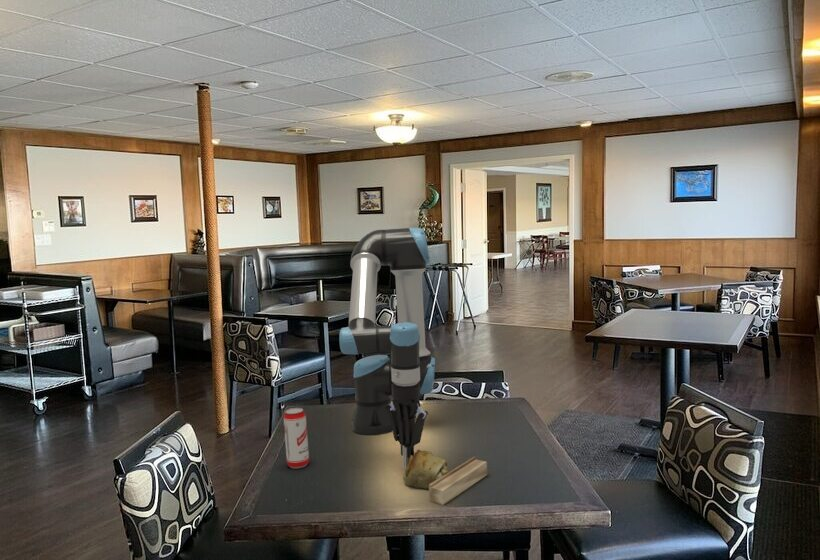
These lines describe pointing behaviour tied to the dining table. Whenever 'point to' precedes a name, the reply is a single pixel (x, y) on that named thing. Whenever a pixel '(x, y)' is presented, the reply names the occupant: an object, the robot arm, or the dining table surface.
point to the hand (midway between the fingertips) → (407, 468)
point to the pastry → (424, 469)
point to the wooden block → (457, 481)
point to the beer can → (296, 438)
